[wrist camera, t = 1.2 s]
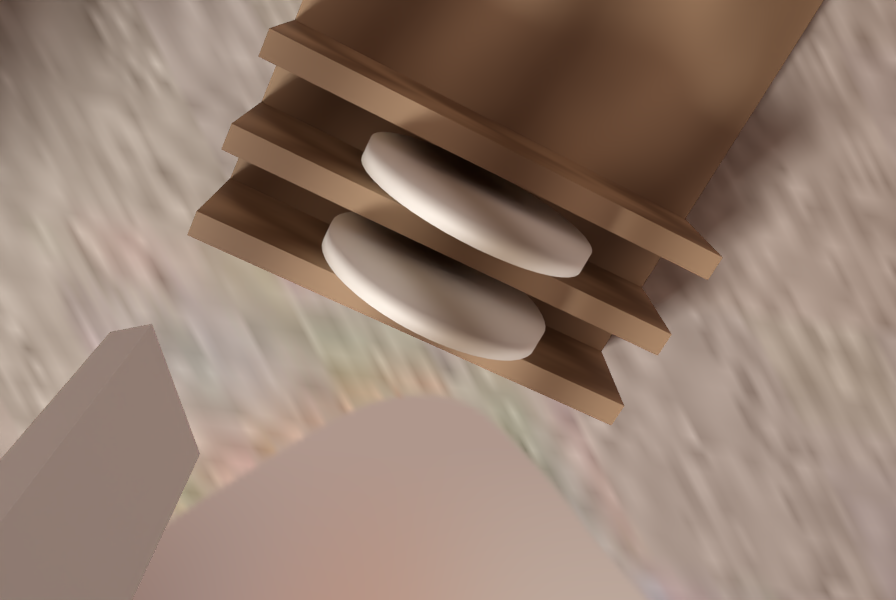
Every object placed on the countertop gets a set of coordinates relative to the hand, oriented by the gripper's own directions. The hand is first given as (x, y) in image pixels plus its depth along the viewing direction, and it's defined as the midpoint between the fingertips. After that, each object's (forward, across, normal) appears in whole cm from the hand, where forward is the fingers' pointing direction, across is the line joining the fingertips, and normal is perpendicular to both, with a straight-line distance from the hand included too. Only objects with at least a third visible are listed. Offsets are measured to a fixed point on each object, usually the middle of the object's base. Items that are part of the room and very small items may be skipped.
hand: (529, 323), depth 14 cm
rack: (+21, +2, +1) cm, 22 cm away
